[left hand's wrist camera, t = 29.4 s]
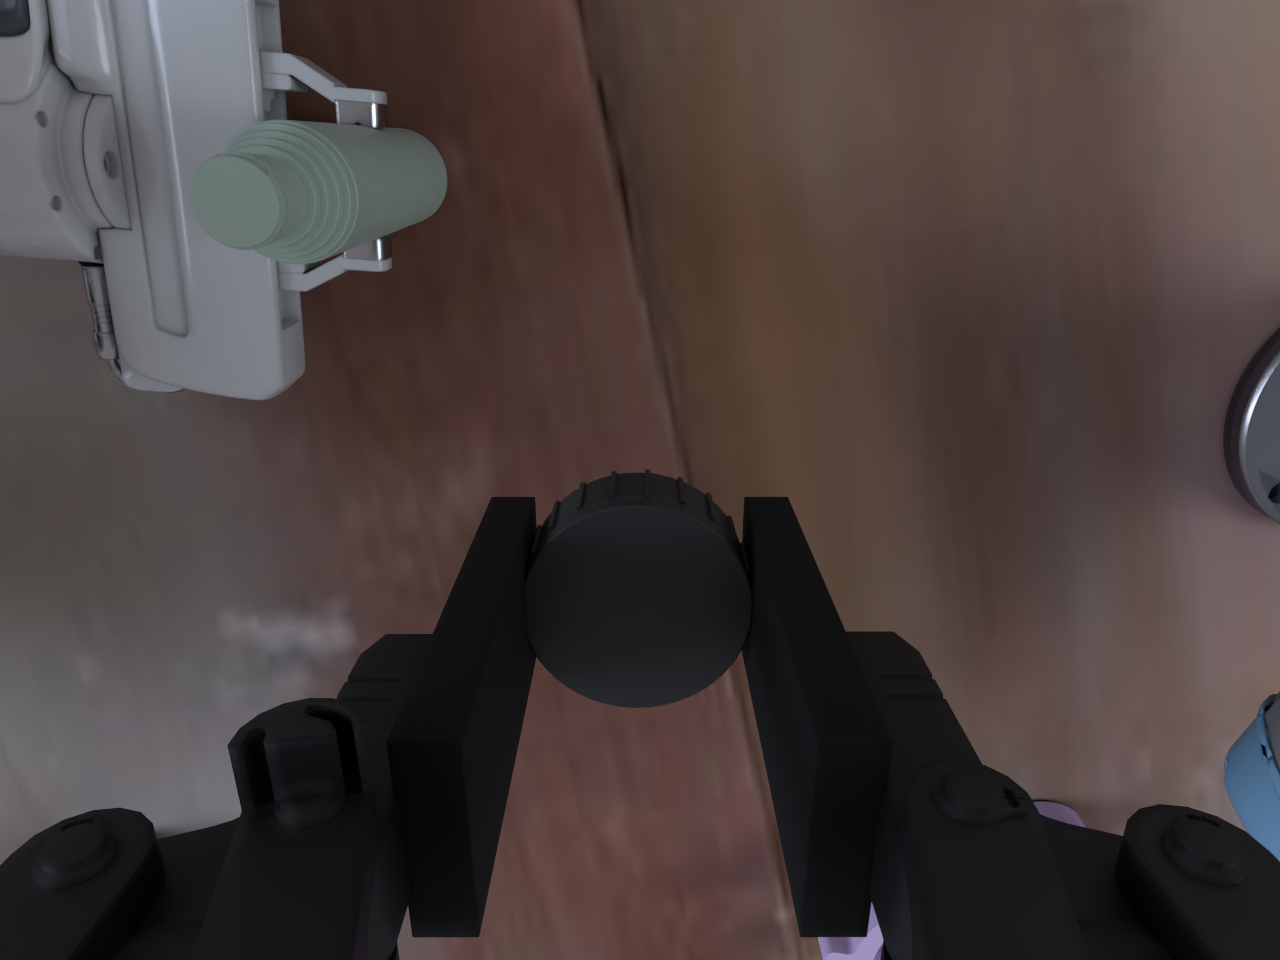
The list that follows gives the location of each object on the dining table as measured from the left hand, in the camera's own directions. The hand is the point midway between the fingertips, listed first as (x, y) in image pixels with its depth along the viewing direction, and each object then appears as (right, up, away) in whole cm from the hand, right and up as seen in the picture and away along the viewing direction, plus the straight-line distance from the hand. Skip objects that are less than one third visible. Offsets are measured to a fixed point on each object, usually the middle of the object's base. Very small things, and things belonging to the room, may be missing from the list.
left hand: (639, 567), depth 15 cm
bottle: (-12, +17, +28) cm, 35 cm away
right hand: (-11, +15, +22) cm, 29 cm away
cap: (0, 0, -1) cm, 1 cm away
